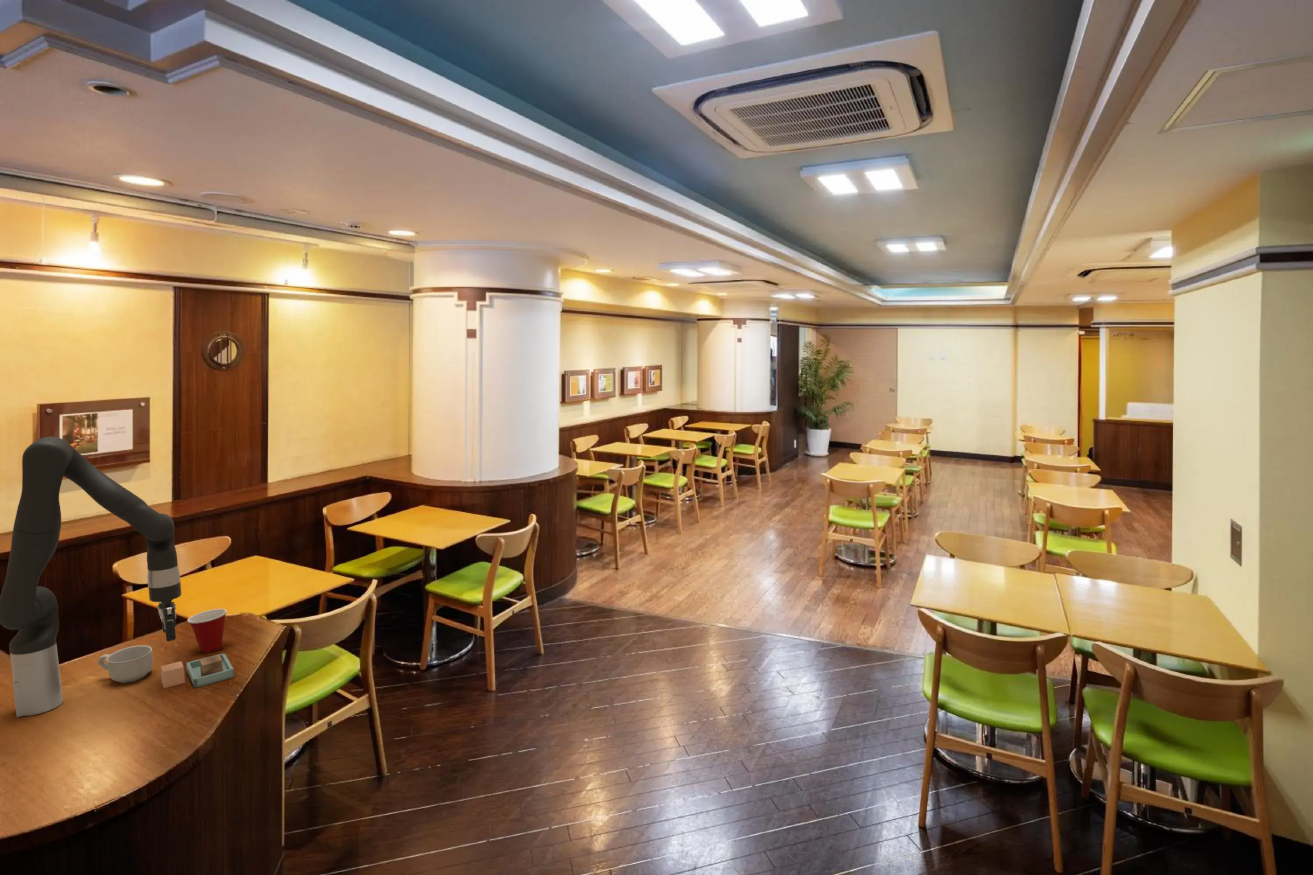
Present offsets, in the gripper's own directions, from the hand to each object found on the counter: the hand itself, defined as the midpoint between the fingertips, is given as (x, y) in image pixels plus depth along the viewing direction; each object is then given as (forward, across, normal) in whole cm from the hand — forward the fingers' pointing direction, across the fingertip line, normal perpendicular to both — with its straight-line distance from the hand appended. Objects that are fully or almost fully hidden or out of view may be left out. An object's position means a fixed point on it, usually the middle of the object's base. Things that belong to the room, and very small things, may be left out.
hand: (169, 635), depth 194 cm
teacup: (+14, +13, +10) cm, 22 cm away
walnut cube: (+14, -4, -9) cm, 17 cm away
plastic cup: (+14, +20, -12) cm, 27 cm away
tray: (+14, -1, -9) cm, 17 cm away
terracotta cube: (+14, 0, 0) cm, 14 cm away
